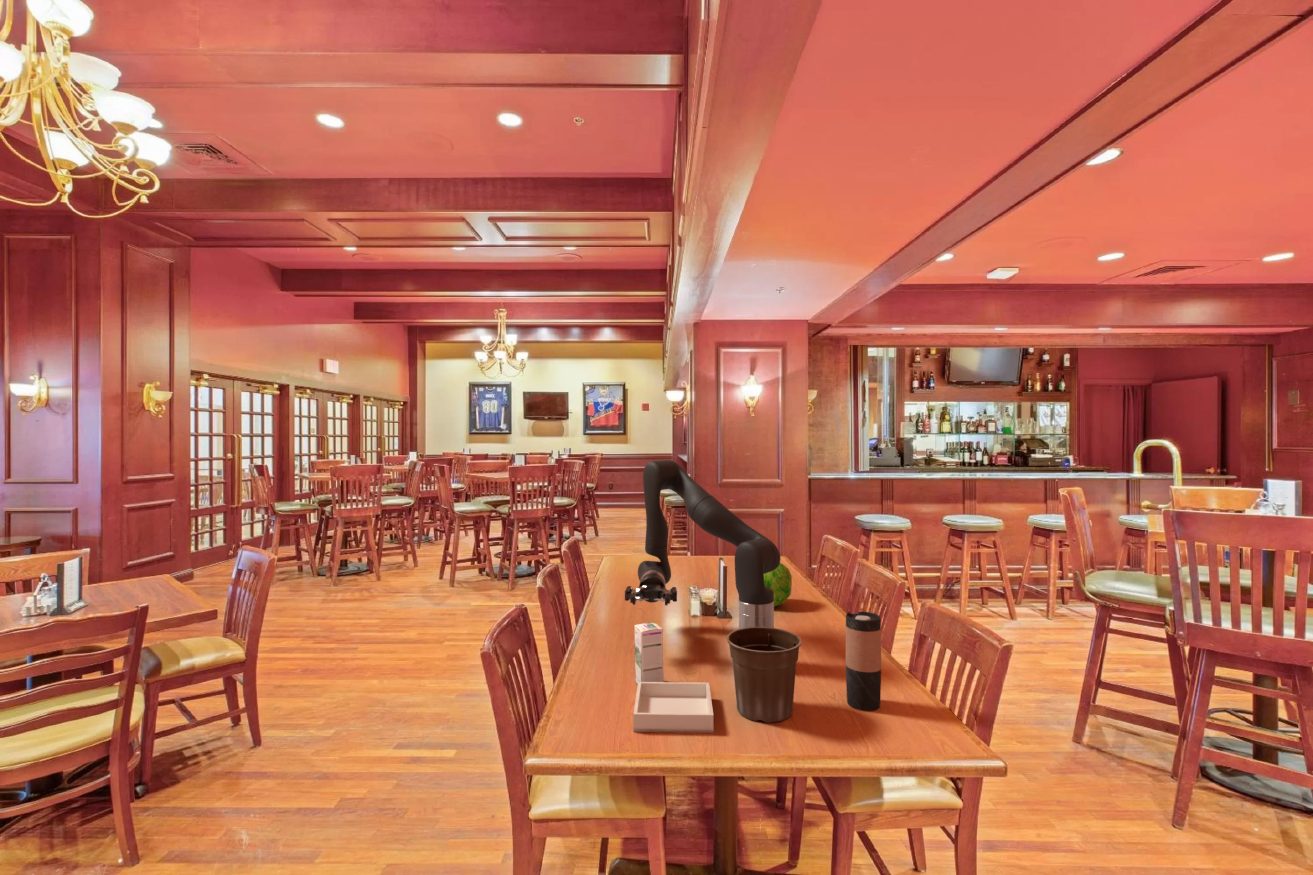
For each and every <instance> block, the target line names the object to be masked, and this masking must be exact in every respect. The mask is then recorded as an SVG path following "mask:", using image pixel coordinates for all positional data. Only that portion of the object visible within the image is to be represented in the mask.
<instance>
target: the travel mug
mask: <svg viewBox="0 0 1313 875" xmlns="http://www.w3.org/2000/svg"><path fill="white" fill-rule="evenodd" d="M881 627H882V622H881V616H880V615H879V614H877V613H874V612H870V611H869V612H868V611H862V610H861V611H858V612H856V613H851V612H850V611H849V612H847V613H846V614H845V678H846V679H845V680H846V681H845V686H846V703H847V705H848V706H849V707H851V708H853V709H855V710H859V711H862V712H874V711H878V710H879V709H880V708H881V695H882V694H881V693H882V692H881V691H882V688H881V687H882V638H881V637H882V628H881Z"/></svg>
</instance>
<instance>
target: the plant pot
mask: <svg viewBox="0 0 1313 875" xmlns="http://www.w3.org/2000/svg"><path fill="white" fill-rule="evenodd" d="M726 642H727V644H728V645H729V652H730V654H729V655H730V658H731V660H732V661H731V662H732V670H733V680H734V689H735V690H734V691H735V699H736V700H735V702H736V710H737V711H738V713H739V714H740V715H741V716H743V717H744V718H746V719H748V720H751V721H753V722H758V721H762V722H764V723H767V724H768V723H770V724H771V723H780V722H782V721H783V722H784V721H785V720H788V719H789V718H790V717H792V716H793V715H792V714H793V710H794V698H795V684H796V670H797V663H798V660H799V653H800V647H801V646H802V638H801V637H800V636H799V635H798V634H796V633H794V632H792V631H790V630H785V629H782V628H777V627H774V628H772V627H747V628H742V629H739V628H737V629H735V630H732V631H730V632H729V633H728V634H727V636H726Z"/></svg>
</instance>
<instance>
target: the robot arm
mask: <svg viewBox="0 0 1313 875" xmlns="http://www.w3.org/2000/svg"><path fill="white" fill-rule="evenodd" d="M642 485H643V495H644V507H645V508H644V509H645V519H646V522H645V523H646V525H645V526H646V528H645V529H646V530H645V544H644V545H645V546H644V550H645V551H644V552H645V553H646V554H648V556H649V555H650V556H653V557H655V558H657V559H658V560H659V561H658V560H656V561H653V560H643V561H641V562H640V563H639V565H638V567H637V576H638V580H639V585H638V587H636V589H635V588H633V587H632V585H629V586H627V587H626V589H625V590H624V601H626V602H628V601H629V603H630V604H632V605H633V606H635V605H636V604H637V603H636V602H643V601H645V602H647V603H653V604H654V603H657V602H661V603H663V602H664V606H668V605H669V604H671V601H672V602H674V603H676V602H678V591H677V587H675V586H672V587H671V588H670V589H667V588H666V587H667V586H666V585H667V584H669V582H670V581H671V578H672V570H671V566H670V561H669V556H668V540H669V528H668V526H669V525H668V523H667V520H666V517H665V515H664V512H663V510H662V508H661V507H662V506H661V501H660V500H661V499H660V498H661V497H660V496H661V491H664V490H670V491H672V492H674V493H676V494H677V495H678V496H679V497H680V498H681V499H682V500H683V502H684V506H685V509H686V513H687V516H688V517H689V518H690V519H691V520H692V521H693V522H694V523H695V524H696V525H697V526H698V527H699V528H700V529H702V530H703V531H704V532H706V533H708V534H709V535H711V536H714V537H716V538H719V539H720V540H723V541H725V542H728V543H730V544H732V545H734V546H735V547H736V549H735V552H734V577H735V579H734V581H735V587H736V588H735V589H736V591H737V593H738V629H742V628H747V627H772V628H775V614H774V613H775V611H774V610H775V607H774V592H773V590H772V589H770V588H768V587H765V585H764V574H765V573H768V572H771V571H773V570H775V569H776V568H777V567H778V566H779V564H780V563H781V553H780V551H779V549H778V547H777V545H776V544H775V543H774V542H773V541H772V540H771V539H769V538H768V537H766V536H765V535H764V534H762V533H760V532H759V531H757V530H755V529H754V528H752V527H751V526H749V525H748V524H747V523H745V522H744V521H743V520H742V519H741V518H740V517H738V516H737V515H736V514H734V513H733V512H732V511H731V510H729V509H728V508H727V507H726V506H725V505H724V504H722V502H721V501H719V500H718V499H717V498H716V497H714V496H713V495H712V494H710V493H709V492H708V491H707V490H706V489H704V487H703V486H701V485H700V484H699V483H697V482H696V481H695V480H694V479H693V478H692V477H691V476H690V475H689V474H688V473H687V472H686V471H685V470H684V469H683V468H682V466H680V464H678V463H677V462H676V461H675V460H671V459H664V460H663V459H661V460H652V461H649V462H647V463H646V464H645V466H644V468H643V474H642Z"/></svg>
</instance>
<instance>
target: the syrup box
mask: <svg viewBox="0 0 1313 875" xmlns="http://www.w3.org/2000/svg"><path fill="white" fill-rule="evenodd" d="M663 632H664V631H663V628H662V627H661V626H659V624H657V623H656V622H644V623H639V624H634V674H635V675H634V678H635V680H634V681H635V682H634V683H635V684H636V685H637V686H638V682H664V637H663Z"/></svg>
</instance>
